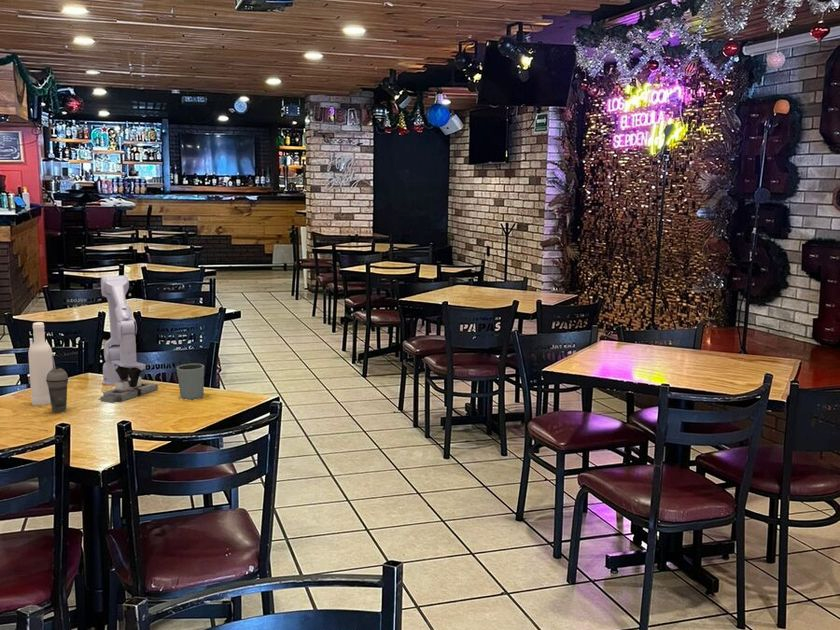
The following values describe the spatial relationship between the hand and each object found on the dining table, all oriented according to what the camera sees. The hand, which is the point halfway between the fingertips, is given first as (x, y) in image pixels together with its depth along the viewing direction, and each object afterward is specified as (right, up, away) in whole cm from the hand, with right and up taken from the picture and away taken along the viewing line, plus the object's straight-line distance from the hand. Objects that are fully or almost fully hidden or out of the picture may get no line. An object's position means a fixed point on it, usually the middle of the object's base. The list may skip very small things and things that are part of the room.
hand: (129, 386), depth 305 cm
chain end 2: (+2, -2, +6) cm, 7 cm away
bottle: (-27, -5, -12) cm, 30 cm away
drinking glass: (+24, -4, -1) cm, 24 cm away
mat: (0, -4, +1) cm, 4 cm away
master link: (0, -3, 0) cm, 3 cm away
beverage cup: (-17, -7, -21) cm, 28 cm away
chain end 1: (-3, -4, -5) cm, 7 cm away
